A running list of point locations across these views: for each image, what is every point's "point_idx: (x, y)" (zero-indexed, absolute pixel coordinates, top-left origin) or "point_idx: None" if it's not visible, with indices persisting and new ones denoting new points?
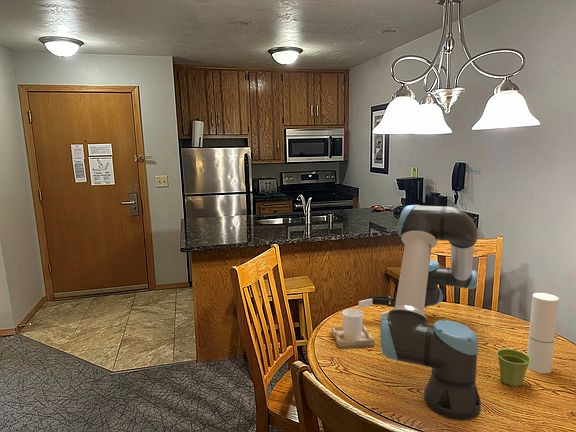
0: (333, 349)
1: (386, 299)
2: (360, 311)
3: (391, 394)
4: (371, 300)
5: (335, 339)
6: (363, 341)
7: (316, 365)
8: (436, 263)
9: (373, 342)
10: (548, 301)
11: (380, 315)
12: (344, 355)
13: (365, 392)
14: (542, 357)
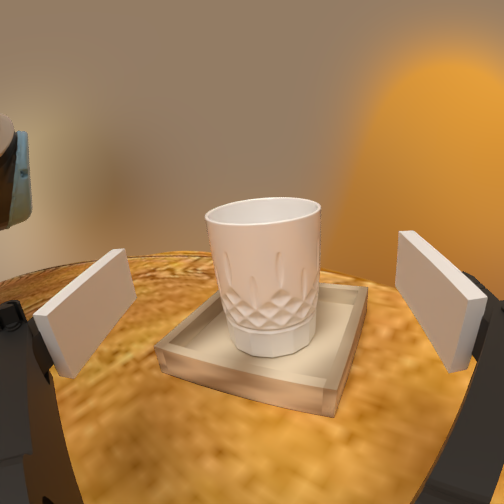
0: None
1: (444, 480)
2: (260, 227)
3: (35, 292)
4: (456, 306)
5: None
6: (186, 321)
7: (210, 254)
8: None
9: (159, 353)
10: None
11: (124, 264)
12: (197, 293)
13: (78, 274)
14: None
